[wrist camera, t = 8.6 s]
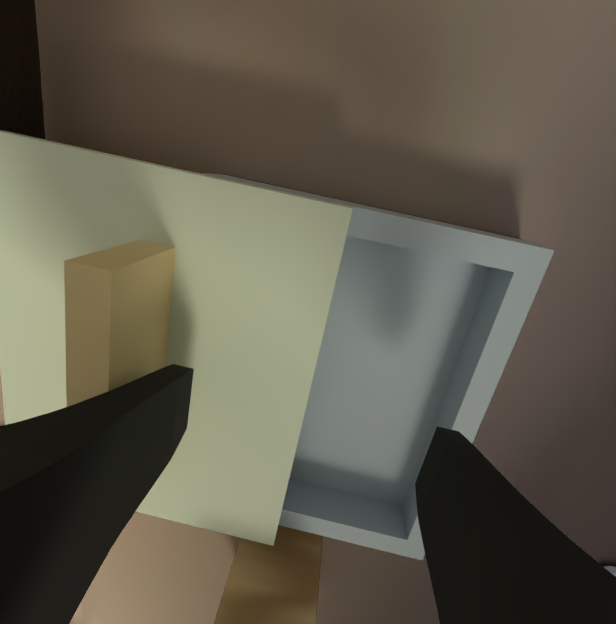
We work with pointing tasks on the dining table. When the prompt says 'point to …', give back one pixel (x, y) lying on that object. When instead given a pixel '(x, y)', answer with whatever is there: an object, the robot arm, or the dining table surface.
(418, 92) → the dining table surface
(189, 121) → the dining table surface
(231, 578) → the wooden block
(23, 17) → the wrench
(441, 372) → the shallow grey tray
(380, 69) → the dining table surface
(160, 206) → the lid
